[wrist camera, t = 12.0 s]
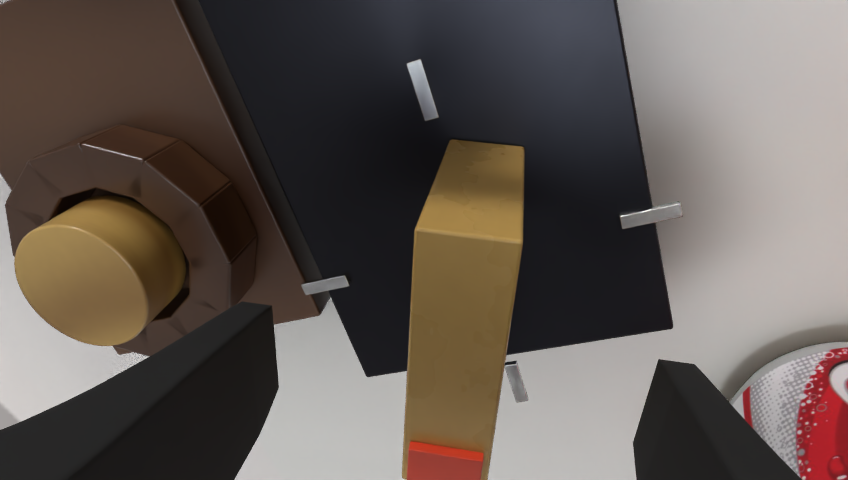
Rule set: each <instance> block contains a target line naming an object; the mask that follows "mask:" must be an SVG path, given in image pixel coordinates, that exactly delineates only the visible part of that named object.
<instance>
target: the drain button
mask: <svg viewBox="0 0 848 480" xmlns="http://www.w3.org/2000/svg"><path fill="white" fill-rule="evenodd" d="M14 265H15V273H16V278H17V281H18V284H19V286H20V288H21V290H22V292H23V294H24V296H25V298H26V299H27V301H28V302H29V304H30V305H31V306H32V308H33V309H34V310H35V311H36V312H37V313H38V314H39V315H40V316H41V317H42V318H43V319H44V320H45V321H46V322H47V323H49V324H50V325H51V326H52V327H54V328H55V329H57V330H58V331H60V332H61V333H63V334H65V335H67V336H69V337H71V338H73V339H75V340H78V341H81V342H84V343H87V344H92V345H98V346H113V345H118V344H122V343H125V342H127V341H129V340H131V339H133V338H134V337H136V336H137V335H138V334H139V333H140V332H141V331H142V330H143V329H144V328H145V327H146V326H147V325H148V324H149V323H150V322H151V321H152V320H153V319H154V318H155V317H156V316H157V315H158V314H159V313H160V312H161V311H162V310H163V309H164V308H165V307H166V306H167V305H168V304H169V303H170V302H171V301H172V300H173V299H174V298H175V297H176V296H177V295H178V293H179V292H180V290H181V289H182V286H183V284H184V280H185V276H186V262H185V257H184V254H183V251H182V248H181V246H180V245H179V243H178V241H177V239H176V237H175V235H174V234H173V232H172V231H171V229H170V228H169V227H168V226H167V225H166V223H165V222H163V221H162V220H161V219H160V218H158V217H157V216H156V215H155V214H153V213H152V212H151V211H149V210H148V209H147V208H146V207H144V206H143V205H141V204H139V203H137V202H134V201H132V200H129V199H126V198H123V197H118V196H109V195H104V196H95V197H91V198H88V199H86V200H84V201H82V202H80V203H79V204H77V205H75V206H73V207H72V208H70V209H68V210H67V211H65V212H63V213H61V214H60V215H58V216H56V217H54V218H53V219H51V220H49V221H48V222H46V223H44V224H42V225H41V226H39V227H37V228H36V229H34V230H32V231H31V232H29V233H28V234H27V235H26V236H25V237H24V238H23V239H22V240H21V242H20V243H19V246H18V248H17V250H16V254H15V262H14Z"/></svg>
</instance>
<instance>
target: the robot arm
mask: <svg viewBox="0 0 848 480" xmlns="http://www.w3.org/2000/svg"><path fill="white" fill-rule="evenodd" d="M278 388H279V385H278V372H277V360H276V348H275V335H274V323H273V311H272V305H265V304H257V303H250V302H243V301H242V302H240V303H238V304H236V305H235V306H233V307H231V308H229V309H228V310H226V311H224V312H222V313H221V314H219V315H218V316H216V317H214V318H213V319H211V320H209V321H208V322H206V323H204V324H203V325H201V326H200V327H198V328H196V329H195V330H193V331H192V332H190V333H188V334H187V335H185V336H183V337H182V338H180V339H178V340H177V341H175V342H173V343H172V344H170V345H168V346H167V347H165V348H163V349H162V350H160V351H158V352H157V353H155V354H153V355H152V356H150V357H148V358H147V359H145V360H143V361H141V362H139V363H137V364H136V365H134V366H132V367H130V368H128V369H127V370H125V371H123V372H121V373H119V374H117V375H116V376H114V377H112V378H110V379H108V380H107V381H105V382H103V383H101V384H99V385H97V386H96V387H94V388H92V389H90V390H88V391H86V392H84V393H82V394H80V395H78V396H76V397H74V398H72V399H70V400H68V401H66V402H64V403H61V404H59V405H57V406H55V407H53V408H50V409H48V410H46V411H44V412H42V413H40V414H37V415H35V416H33V417H31V418H29V419H26V420H24V421H22V422H19V423H17V424H15V425H12V426H10V427H7V428H4V429H2V430H0V480H234V479H235V477H236V476H237V474H238V472H239V470H240V469H241V467H242V465H243V463H244V461H245V460H246V458H247V456H248V454H249V453H250V451H251V449H252V447H253V445H254V444H255V442H256V440H257V438H258V436H259V434H260V432H261V430H262V428H263V425H264V423H265V421H266V418H267V416H268V413H269V411H270V408H271V406H272V403H273V401H274V398H275V396H276V393H277V391H278ZM633 447H634V457H635V468H636V477H637V480H802V479H801V478H800V477H799V476H798V475H797V474H796V473H795V472H794V471H793V470H792V469H791V468H790V467H789V466H788V465H787V464H786V463H785V462H784V461H783V460H782V459H781V458H780V457H779V456H778V454H777V453H776V452H775V451H774V450H773V449H772V448H771V447H770V446H769V445H768V444H767V443H766V442H765V441H764V440H763V439H762V438H761V437H760V435H759V434H758V433H757V432H756V431H755V430H754V429H753V428H752V427H751V426H750V425H749V424H748V422H747V421H746V420H745V419H744V418H743V417H742V416H741V415H740V414H739V413H738V411H737V410H736V409H735V408H734V407H733V406H732V405H731V404H730V403H729V401H728V400H727V399H726V398H725V397H724V396H723V395H722V394H721V393H720V391H719V390H718V389H717V388H716V387H715V386H714V385H713V384H712V383H711V381H710V380H709V379H708V378H707V377H706V376H705V375H704V374H703V373H702V372H701V371H700V370H699V369H698V367H697V366H696V365H695V364H689V363H682V362H675V361H667V360H660V359H659V360H658V363H657V366H656V370H655V373H654V376H653V379H652V383H651V386H650V389H649V392H648V396H647V399H646V402H645V406H644V409H643V412H642V415H641V419H640V422H639V425H638V429H637V432H636V435H635V438H634V442H633Z"/></svg>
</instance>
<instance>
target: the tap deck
mask: <svg viewBox="0 0 848 480" xmlns="http://www.w3.org/2000/svg"><path fill="white" fill-rule="evenodd" d="M198 1H199V4H200V6H201V8H202V10H203V13H204V15H205V17H206V19H207V21H208V24H209V26H210V28H211V30H212V33H213V35H214V37H215V39H216V42H217V44H218V46H219V48H220V51H221V53H222V55H223V57H224V59H225V62H226V64H227V66H228V68H229V71H230V73H231V75H232V77H233V80H234V82H235V84H236V86H237V88H238V91H239V93H240V95H241V97H242V100H243V102H244V104H245V106H246V109H247V111H248V113H249V115H250V118H251V120H252V122H253V124H254V126H255V129H256V131H257V133H258V135H259V138H260V140H261V142H262V144H263V147H264V149H265V151H266V153H267V156H268V158H269V160H270V162H271V164H272V167H273V169H274V171H275V173H276V176H277V178H278V180H279V182H280V185H281V187H282V189H283V191H284V193H285V196H286V198H287V200H288V202H289V205H290V207H291V209H292V211H293V214H294V216H295V218H296V220H297V223H298V225H299V227H300V229H301V231H302V234H303V236H304V238H305V240H306V243H307V245H308V247H309V249H310V252H311V254H312V256H313V258H314V261H315V263H316V265H317V267H318V269H319V272H320V274H321V276H322V278H320V279H316V280H311V281H306V282H303V283H302V284H301V286H302V288H303V290H304V293H305V295H309V294H313V293H318V292H323V291H328V292H329V294H330V296H331V298H332V301H333V303H334V305H335V307H336V310H337V312H338V314H339V316H340V319H341V321H342V323H343V325H344V328H345V330H346V332H347V334H348V336H349V339H350V341H351V343H352V345H353V348H354V350H355V352H356V354H357V357H358V359H359V361H360V363H361V366H362V368H363V370H364V372H365V374H366V376H367V377H372V376H378V375H384V374H391V373H397V372H403V371H407V364H408V345H409V326H410V306H411V287H412V267H413V248H414V230H415V227H416V225H417V222H418V220H419V217H420V215H421V212H422V210H423V207H424V205H425V202H426V199H427V197H428V194H429V192H430V189H431V187H432V184H433V182H434V179H435V177H436V174H437V172H438V169H439V167H440V164H441V162H442V159H443V156H444V154H445V151H446V149H447V146H448V144H449V141H450V140H452V139H453V140H463V141H473V142H482V143H492V144H502V145H512V146H522V147H524V149H525V156H524V216H523V247H522V253H521V260H520V267H519V273H518V280H517V287H516V293H515V300H514V307H513V313H512V320H511V327H510V333H509V340H508V346H507V353H506V355H510V354H516V353H523V352H529V351H535V350H542V349H548V348H554V347H561V346H567V345H573V344H579V343H586V342H592V341H598V340H605V339H611V338H617V337H624V336H630V335H636V334H642V333H649V332H655V331H661V330H668V329H672V328H673V320H672V315H671V309H670V303H669V298H668V292H667V286H666V280H665V275H664V269H663V263H662V257H661V252H660V246H659V240H658V234H657V229H656V223H655V222H659V221H664V220H669V219H673V218H678V217H682V216H683V215H682V208H681V203H680V202H679V201H677V202H673V203H668V204H663V205H659V206H654V207H653V206H652V200H651V194H650V189H649V183H648V177H647V171H646V166H645V160H644V154H643V148H642V143H641V137H640V131H639V126H638V120H637V114H636V108H635V103H634V97H633V91H632V85H631V80H630V74H629V68H628V62H627V57H626V51H625V45H624V39H623V34H622V28H621V22H620V17H619V11H618V5H617V0H198ZM505 369H506V372H507V375H508V378H509V381H510V384H511V388H512V391H513V394H514V397H515V400H516V402H524V401H528V395H527V392H526V389H525V386H524V383H523V379H522V376H521V373H520V370H519V367H518V363H517V361H512V362H505Z"/></svg>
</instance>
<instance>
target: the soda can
mask: <svg viewBox="0 0 848 480" xmlns="http://www.w3.org/2000/svg"><path fill="white" fill-rule="evenodd" d="M730 404H731V405H732V406H733V407H734V408H735V409H736V410H737V411H738V413H739V414H740V415H741V416H742V417H743V418H744V419H745V420H746V421H747V422H748V424H749V425H750V426H751V427H752V428H753V429H754V430H755V431H756V432H757V433H758V434H759V435H760V437H761V438H762V439H763V440H764V441H765V442H766V443H767V444H768V445H769V446H770V447H771V448H772V449H773V450H774V451H775V452H776V453H777V454H778V456H779V457H780V458H781V459H782V460H783V461H784V462H785V463H786V464H787V465H788V466H789V467H790V468H791V469H792V470H793V471H794V472H795V473H796V474H797V475H798V476H799V477H800V478H801V479H802V480H848V342H831V343H823V344H817V345H812V346H808V347H805V348H801V349H798V350H795V351H793V352H790V353H787V354H785V355H783V356H781V357H779V358H777V359H775V360H773V361H771V362H769V363H768V364H766V365H765V366H763V367H762V368H760V369H759V370H758V371H757V372H755V373H754V374H753V375H752V376H751V377H750V378H749V379H748V380H747V381H746V382H745V383H744V385H743V386H742V387H741V388H740V389H739V390H738V392H737V393H736V394H735V395H734V397H733V398H732V399H731V401H730Z"/></svg>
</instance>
